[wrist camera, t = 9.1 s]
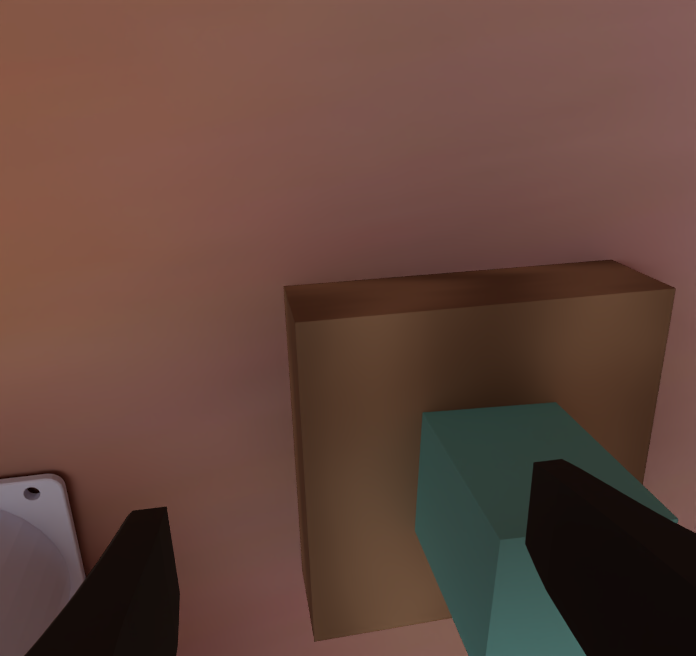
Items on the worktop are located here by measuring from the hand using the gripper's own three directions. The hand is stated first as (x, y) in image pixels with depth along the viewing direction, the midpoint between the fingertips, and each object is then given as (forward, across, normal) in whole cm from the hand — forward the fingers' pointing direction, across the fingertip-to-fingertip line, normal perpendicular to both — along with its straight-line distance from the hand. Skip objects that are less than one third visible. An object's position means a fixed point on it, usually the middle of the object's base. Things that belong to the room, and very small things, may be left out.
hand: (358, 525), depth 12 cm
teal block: (+7, -6, +4) cm, 10 cm away
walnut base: (+11, -6, +4) cm, 13 cm away
